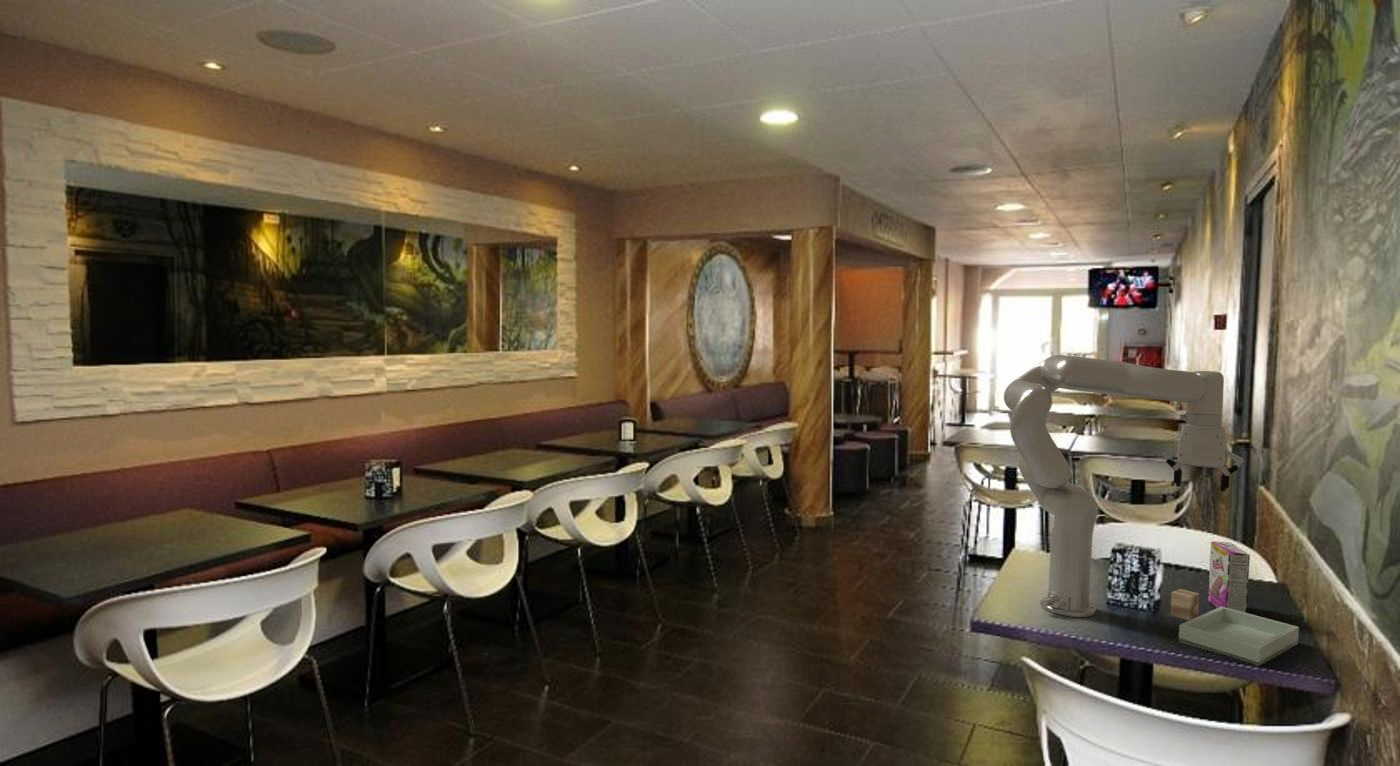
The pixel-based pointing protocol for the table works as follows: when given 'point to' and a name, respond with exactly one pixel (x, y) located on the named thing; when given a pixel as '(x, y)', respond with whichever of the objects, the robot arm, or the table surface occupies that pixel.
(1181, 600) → the maple block
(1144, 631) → the table surface
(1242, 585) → the candy bar box
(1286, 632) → the tray
